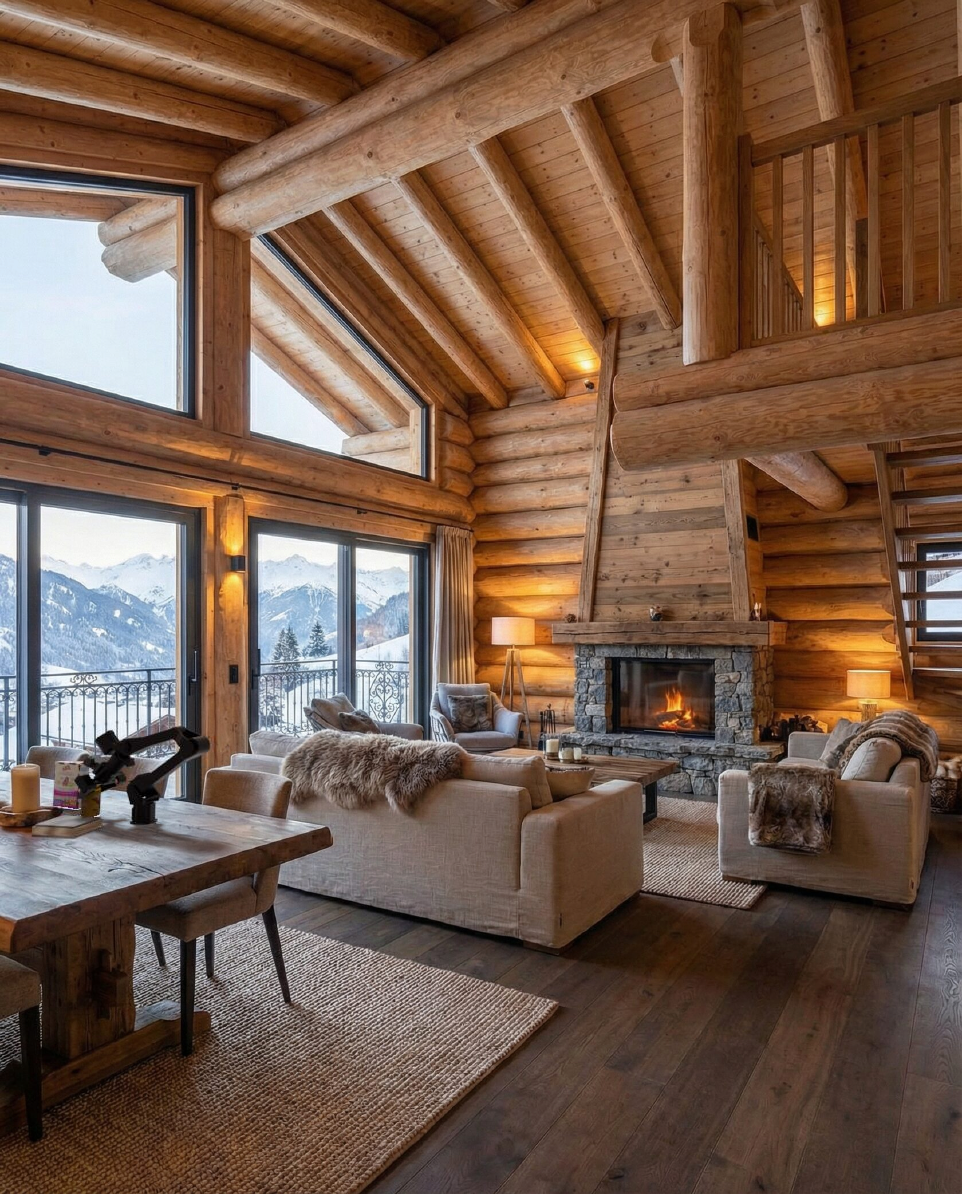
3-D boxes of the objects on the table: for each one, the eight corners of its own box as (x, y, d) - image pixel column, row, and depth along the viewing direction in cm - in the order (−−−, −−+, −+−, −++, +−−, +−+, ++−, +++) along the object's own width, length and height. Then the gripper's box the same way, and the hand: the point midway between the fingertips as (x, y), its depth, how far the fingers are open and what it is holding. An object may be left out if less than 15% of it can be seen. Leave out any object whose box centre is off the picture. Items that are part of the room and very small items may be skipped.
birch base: (102, 826, 261) (102, 817, 261) (73, 837, 247) (74, 827, 247) (62, 824, 263) (62, 814, 263) (32, 834, 249) (32, 824, 249)
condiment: (104, 817, 274) (105, 781, 275) (77, 820, 268) (79, 784, 269) (96, 813, 279) (97, 778, 280) (70, 816, 274) (71, 780, 274)
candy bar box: (88, 808, 287) (90, 761, 288) (77, 811, 283) (79, 763, 283) (63, 805, 291) (65, 759, 291) (51, 808, 286) (53, 761, 287)
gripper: (120, 744, 283) (93, 773, 286) (79, 751, 266) (51, 782, 268) (138, 768, 281) (111, 798, 283) (98, 777, 263) (69, 808, 266)
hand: (86, 796), depth 275 cm, fingers closed on condiment, 6 cm apart
